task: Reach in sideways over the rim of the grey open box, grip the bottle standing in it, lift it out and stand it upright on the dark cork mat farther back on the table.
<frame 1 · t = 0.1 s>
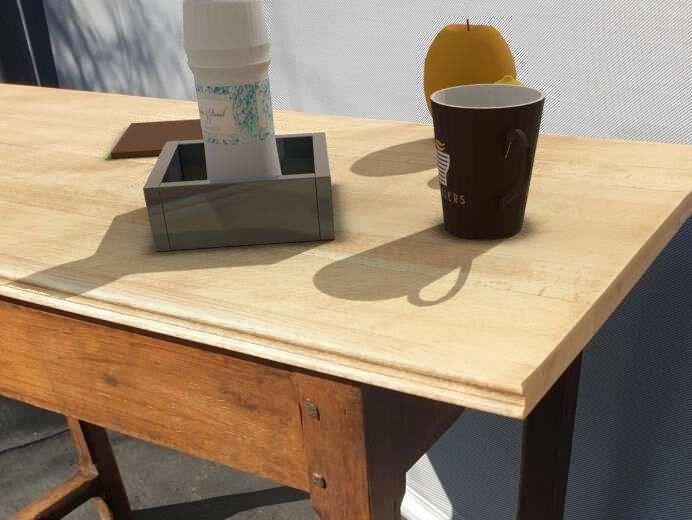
grey open box: (249, 216, 73), on the table
coffee mug: (481, 235, 67), on the table
mat: (183, 138, 97), on the table
bottle: (250, 218, 73), resting in grey open box
lemon: (503, 163, 84), on the table
apple: (467, 140, 92), on the table
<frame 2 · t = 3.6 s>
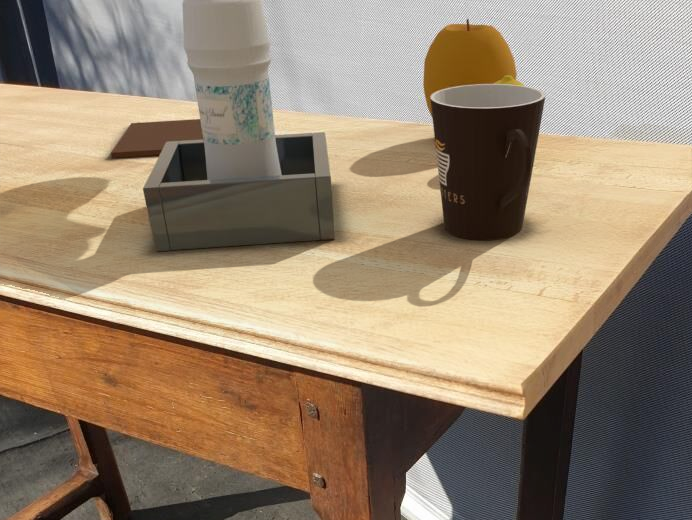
nothing on the table moved.
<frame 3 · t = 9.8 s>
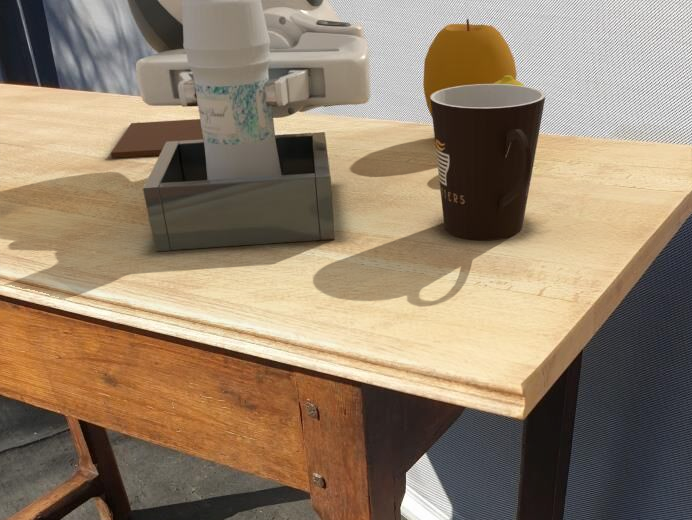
hand: (230, 95, 66), 10 cm above the table, tool horizontal, fingers closed on bottle, 6 cm apart
bottle: (250, 218, 73), resting in grey open box, touching gripper
everything else where it was.
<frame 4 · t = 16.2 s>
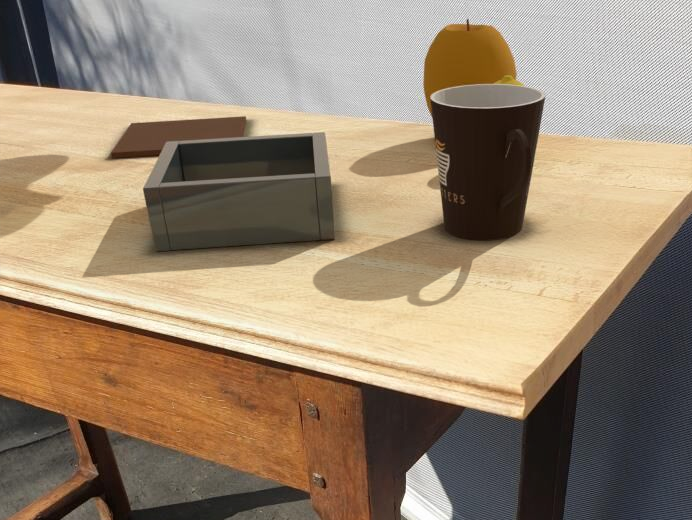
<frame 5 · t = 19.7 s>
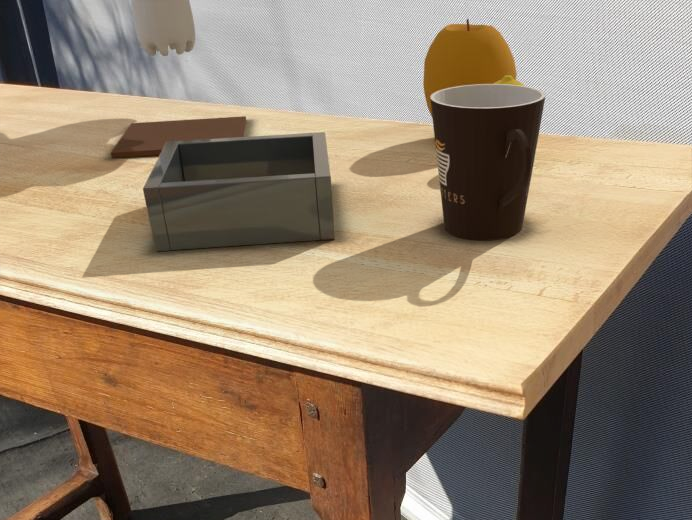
bottle: (169, 54, 92), point 9 cm above the table, touching gripper
everything else where it was.
when the fingers open (11 cm above the table, at t = 22.5 s): bottle stays where it is, resting on mat.
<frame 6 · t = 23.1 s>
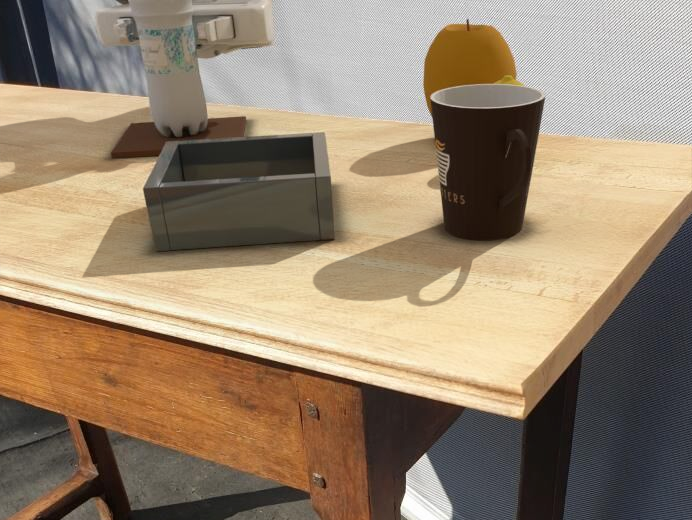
hand: (162, 33, 89), 11 cm above the table, tool horizontal, fingers open, 8 cm apart
bottle: (183, 134, 96), resting on mat
everything else where it was.
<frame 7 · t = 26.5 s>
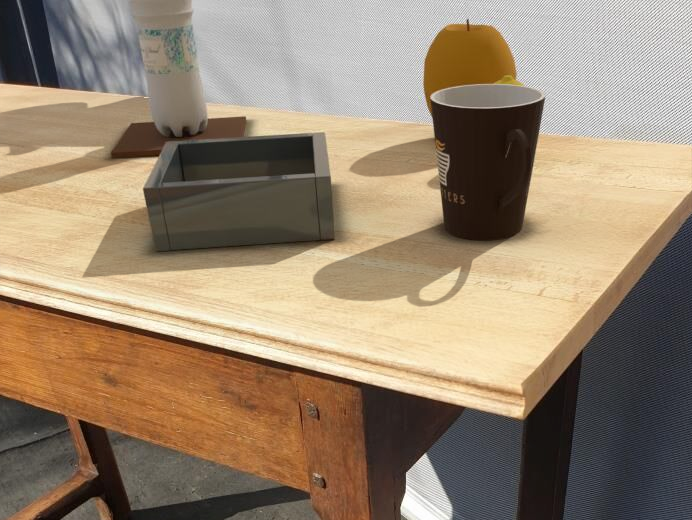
nothing on the table moved.
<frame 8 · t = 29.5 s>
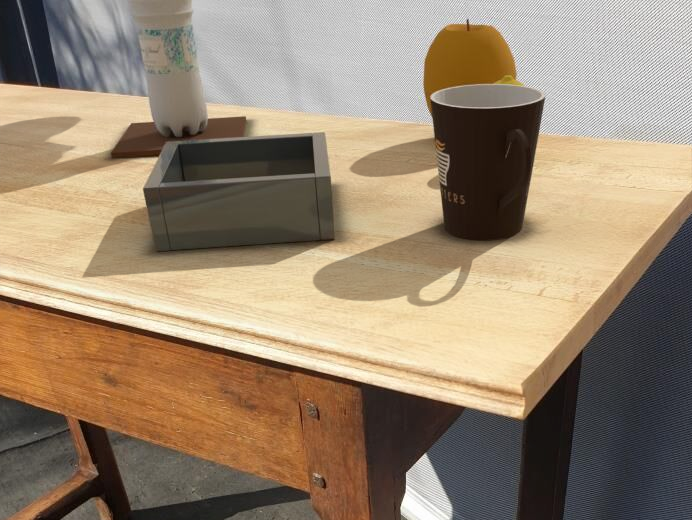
nothing on the table moved.
at the end: bottle inside the target area on the mat (0.1 cm from its centre), point 0.4 cm above the mat's base; bottle tilted 0°; bottle touching mat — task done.
